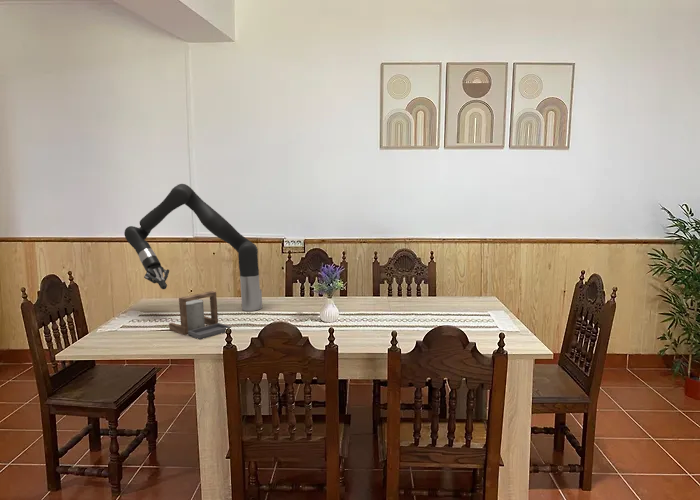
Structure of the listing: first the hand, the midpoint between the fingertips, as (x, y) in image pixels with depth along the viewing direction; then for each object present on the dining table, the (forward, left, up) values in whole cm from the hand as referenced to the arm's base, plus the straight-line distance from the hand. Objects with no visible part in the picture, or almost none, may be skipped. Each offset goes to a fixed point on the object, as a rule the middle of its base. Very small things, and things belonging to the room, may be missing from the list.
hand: (164, 288), depth 294 cm
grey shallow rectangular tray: (0, +35, -15) cm, 38 cm away
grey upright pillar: (0, +23, -15) cm, 28 cm away
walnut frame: (0, +23, -15) cm, 27 cm away
